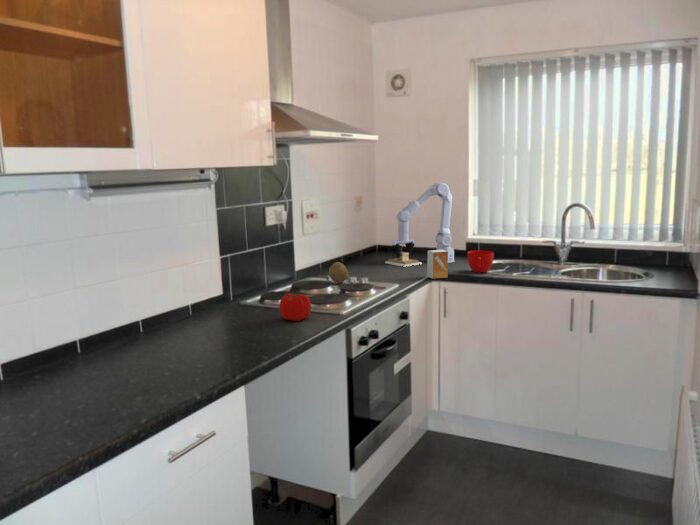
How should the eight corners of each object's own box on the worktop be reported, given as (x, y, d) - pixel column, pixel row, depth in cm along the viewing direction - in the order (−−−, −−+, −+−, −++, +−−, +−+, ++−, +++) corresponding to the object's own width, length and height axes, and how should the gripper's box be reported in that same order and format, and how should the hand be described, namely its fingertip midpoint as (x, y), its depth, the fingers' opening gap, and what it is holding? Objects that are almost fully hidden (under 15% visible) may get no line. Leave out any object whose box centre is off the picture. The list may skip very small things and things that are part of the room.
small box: (433, 279, 275) (433, 252, 273) (426, 276, 281) (427, 250, 279) (448, 277, 278) (448, 251, 276) (441, 275, 284) (442, 249, 282)
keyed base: (422, 264, 317) (422, 260, 316) (404, 266, 309) (404, 262, 309) (402, 260, 329) (402, 256, 329) (385, 263, 322) (385, 259, 321)
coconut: (325, 282, 271) (324, 261, 269) (342, 280, 275) (341, 259, 273) (333, 285, 263) (333, 264, 261) (351, 283, 267) (350, 262, 265)
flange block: (393, 261, 322) (393, 252, 321) (401, 260, 325) (401, 251, 324) (404, 263, 314) (404, 254, 313) (413, 262, 317) (413, 253, 316)
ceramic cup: (465, 275, 284) (465, 254, 282) (468, 269, 300) (468, 250, 298) (492, 276, 280) (492, 255, 279) (493, 270, 296) (494, 250, 295)
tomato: (317, 318, 207) (317, 293, 206) (293, 325, 199) (292, 299, 197) (297, 313, 214) (296, 289, 213) (272, 320, 206) (271, 295, 204)
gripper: (408, 230, 324) (408, 254, 326) (388, 232, 315) (388, 257, 318) (416, 231, 318) (416, 256, 321) (397, 234, 310) (397, 258, 312)
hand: (403, 256), depth 319 cm, fingers open, 7 cm apart
